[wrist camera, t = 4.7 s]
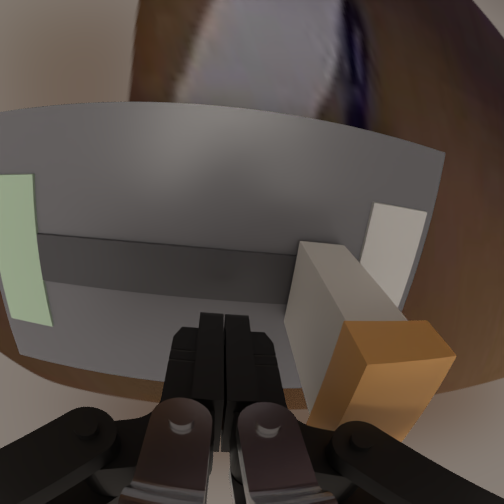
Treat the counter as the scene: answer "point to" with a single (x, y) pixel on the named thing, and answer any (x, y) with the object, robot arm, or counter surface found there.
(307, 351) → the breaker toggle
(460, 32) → the counter surface
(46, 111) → the breaker housing
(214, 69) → the counter surface
